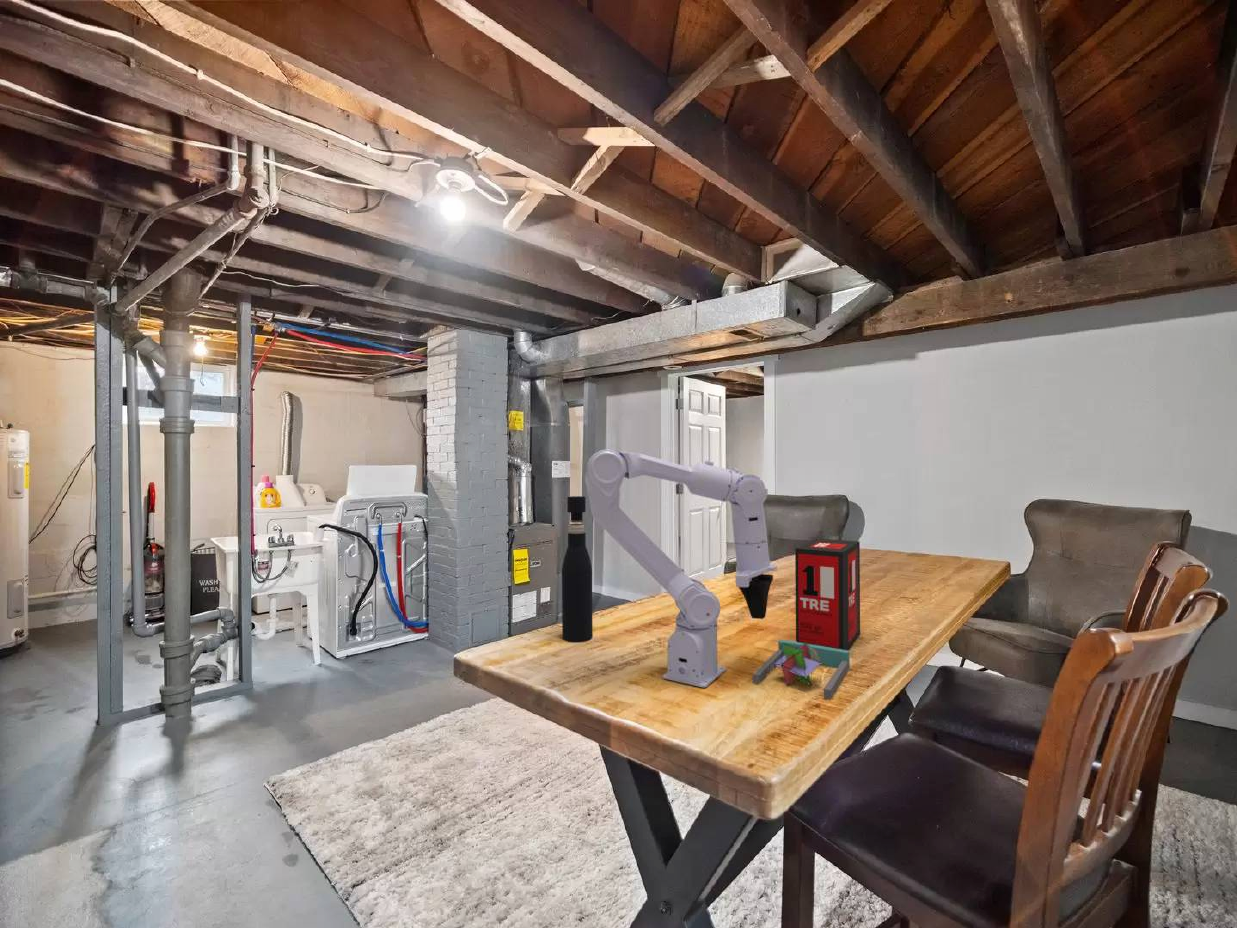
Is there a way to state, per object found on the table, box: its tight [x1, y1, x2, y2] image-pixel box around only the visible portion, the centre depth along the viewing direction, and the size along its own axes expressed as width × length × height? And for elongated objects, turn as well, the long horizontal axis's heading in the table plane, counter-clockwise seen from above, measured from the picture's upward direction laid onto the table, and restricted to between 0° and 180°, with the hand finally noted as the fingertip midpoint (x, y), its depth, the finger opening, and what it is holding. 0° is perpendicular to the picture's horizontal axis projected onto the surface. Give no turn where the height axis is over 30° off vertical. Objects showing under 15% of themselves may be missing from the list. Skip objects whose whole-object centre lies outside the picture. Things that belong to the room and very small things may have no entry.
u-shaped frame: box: [752, 638, 851, 701], centre depth 96 cm, size 16×12×3 cm
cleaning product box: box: [794, 538, 861, 651], centre depth 113 cm, size 16×9×20 cm, turn 146°
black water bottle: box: [561, 495, 593, 643], centre depth 117 cm, size 6×6×30 cm
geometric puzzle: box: [773, 643, 822, 687], centre depth 92 cm, size 7×7×8 cm
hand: (758, 617), depth 98 cm, fingers closed
